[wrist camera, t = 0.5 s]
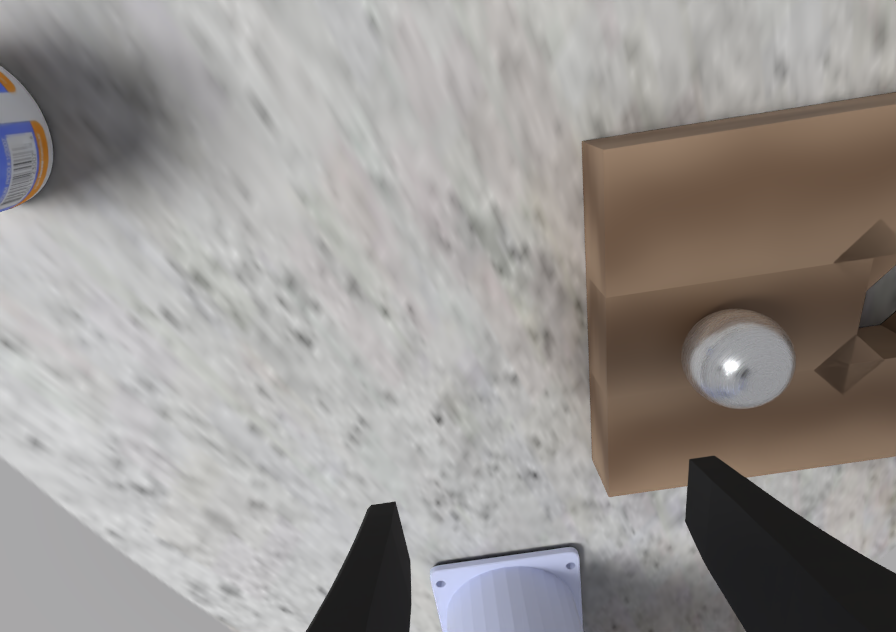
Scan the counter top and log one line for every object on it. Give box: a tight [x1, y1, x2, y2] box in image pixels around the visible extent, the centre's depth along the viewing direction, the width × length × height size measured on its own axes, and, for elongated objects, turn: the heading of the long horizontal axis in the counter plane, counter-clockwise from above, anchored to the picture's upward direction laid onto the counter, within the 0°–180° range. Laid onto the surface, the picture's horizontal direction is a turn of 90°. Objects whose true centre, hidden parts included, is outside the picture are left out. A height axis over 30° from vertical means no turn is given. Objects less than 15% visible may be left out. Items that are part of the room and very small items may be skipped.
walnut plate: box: [582, 92, 896, 497], centre depth 21 cm, size 15×18×2 cm
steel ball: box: [681, 309, 796, 409], centre depth 18 cm, size 4×4×4 cm
